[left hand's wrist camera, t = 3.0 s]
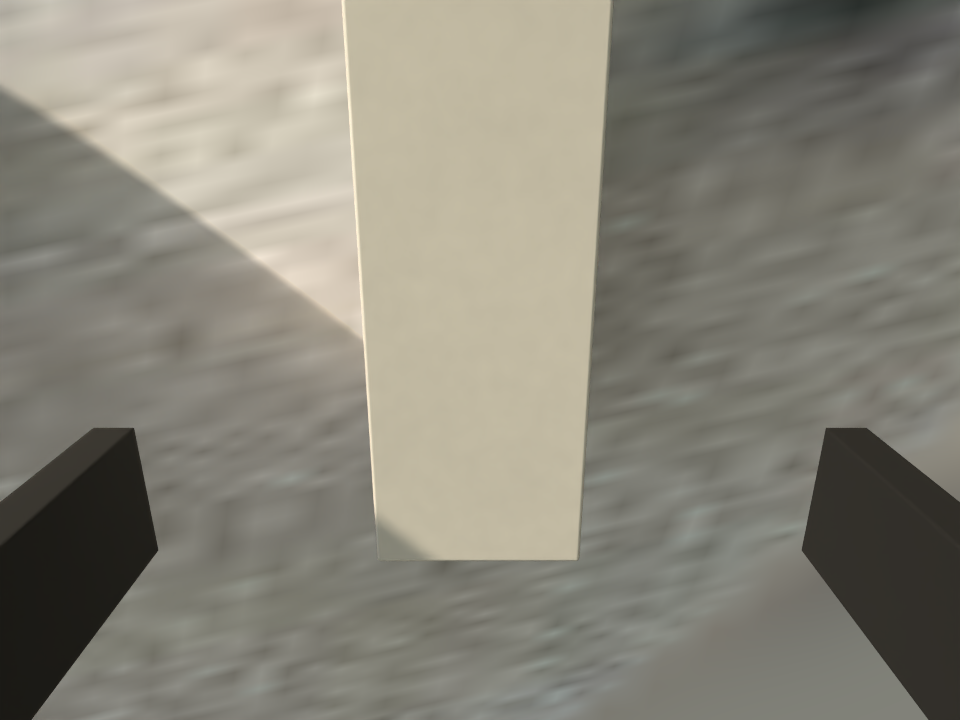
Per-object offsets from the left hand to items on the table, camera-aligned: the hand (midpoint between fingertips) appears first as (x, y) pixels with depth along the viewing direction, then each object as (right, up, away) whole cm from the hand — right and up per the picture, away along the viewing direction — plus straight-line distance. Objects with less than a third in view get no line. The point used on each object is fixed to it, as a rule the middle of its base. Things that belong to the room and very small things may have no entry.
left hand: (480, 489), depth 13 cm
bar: (0, +30, +2) cm, 30 cm away
